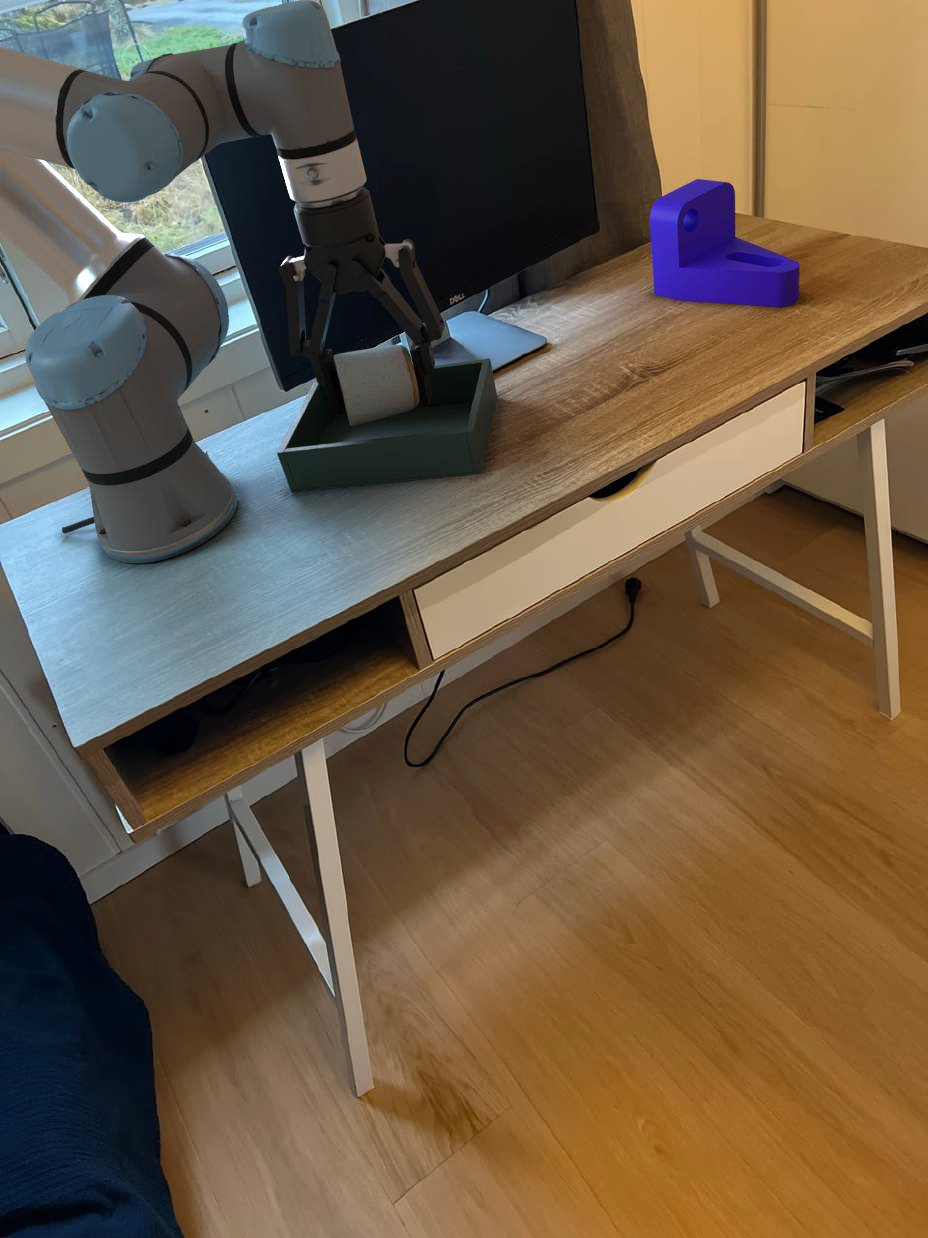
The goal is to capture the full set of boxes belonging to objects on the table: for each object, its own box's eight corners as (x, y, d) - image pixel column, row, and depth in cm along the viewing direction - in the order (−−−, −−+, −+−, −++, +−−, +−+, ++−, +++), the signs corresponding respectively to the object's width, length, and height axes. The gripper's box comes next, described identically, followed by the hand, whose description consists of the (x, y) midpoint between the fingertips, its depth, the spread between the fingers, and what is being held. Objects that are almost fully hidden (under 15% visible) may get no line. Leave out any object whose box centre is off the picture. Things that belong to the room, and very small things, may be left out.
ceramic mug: (427, 418, 100) (412, 351, 95) (354, 438, 99) (335, 372, 95) (408, 380, 108) (394, 316, 103) (341, 398, 108) (323, 335, 103)
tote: (291, 492, 102) (276, 453, 99) (326, 417, 115) (314, 380, 112) (482, 473, 98) (473, 431, 94) (497, 397, 110) (490, 358, 107)
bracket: (654, 294, 124) (648, 203, 116) (708, 263, 128) (706, 173, 120) (766, 320, 111) (767, 220, 104) (822, 286, 116) (828, 187, 108)
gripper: (211, 223, 88) (282, 430, 103) (435, 189, 84) (476, 411, 98) (235, 198, 94) (299, 398, 108) (447, 165, 89) (484, 378, 104)
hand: (383, 404), depth 103 cm, fingers closed on ceramic mug, 9 cm apart
